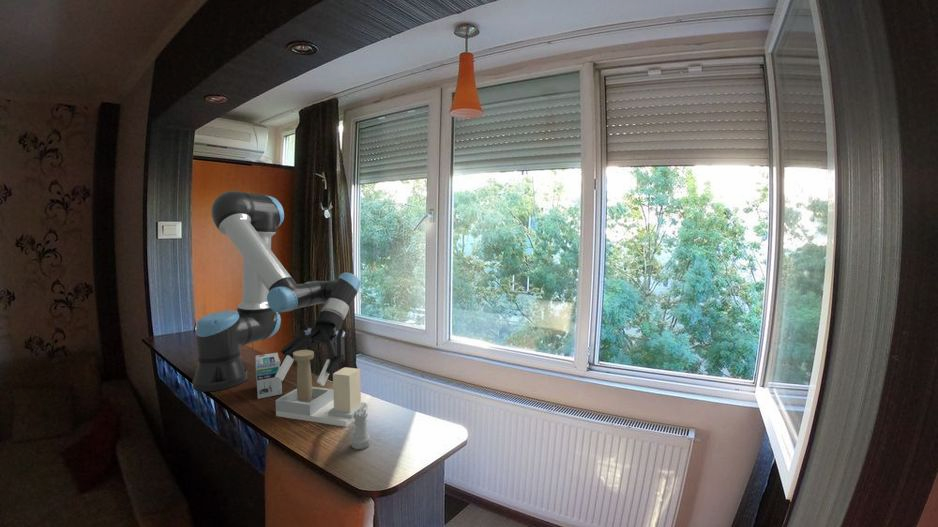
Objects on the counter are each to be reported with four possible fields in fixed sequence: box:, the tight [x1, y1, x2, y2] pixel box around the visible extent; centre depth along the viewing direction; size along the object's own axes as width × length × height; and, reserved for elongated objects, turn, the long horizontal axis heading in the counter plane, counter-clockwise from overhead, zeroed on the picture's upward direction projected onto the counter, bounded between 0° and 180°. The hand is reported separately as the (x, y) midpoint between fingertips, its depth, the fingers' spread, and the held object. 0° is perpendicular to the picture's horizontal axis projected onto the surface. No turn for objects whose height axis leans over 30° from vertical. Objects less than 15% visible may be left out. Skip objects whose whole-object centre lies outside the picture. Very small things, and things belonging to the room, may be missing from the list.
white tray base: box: [275, 366, 368, 428], centre depth 98 cm, size 22×10×12 cm, turn 75°
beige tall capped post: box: [293, 349, 315, 403], centre depth 99 cm, size 5×6×15 cm
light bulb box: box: [254, 352, 283, 400], centre depth 112 cm, size 11×7×11 cm, turn 32°
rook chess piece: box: [350, 409, 372, 450], centre depth 82 cm, size 4×4×8 cm
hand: (299, 381), depth 97 cm, fingers open, 13 cm apart
